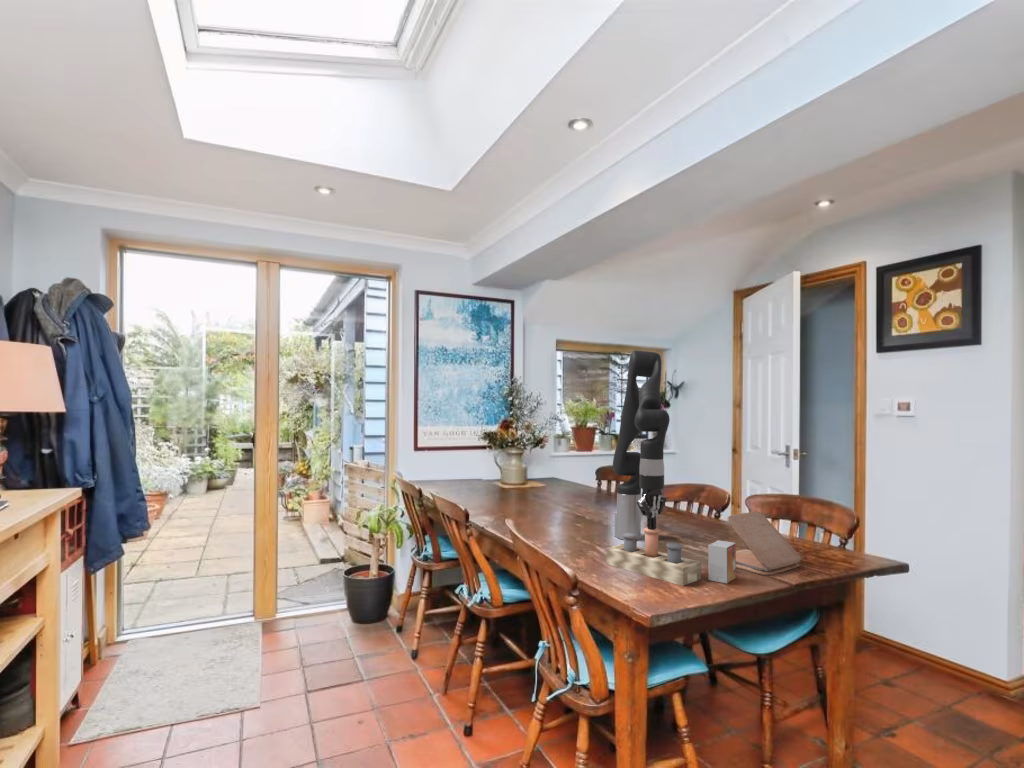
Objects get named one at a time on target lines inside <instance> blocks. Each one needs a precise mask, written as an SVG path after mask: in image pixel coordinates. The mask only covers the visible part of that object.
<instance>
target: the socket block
mask: <svg viewBox="0 0 1024 768" xmlns="http://www.w3.org/2000/svg"><path fill="white" fill-rule="evenodd" d="M605 564H606V565H608V566H611V567H615V568H618V569H622V570H625V571H629V572H632V573H636V574H640V575H643V576H646V577H649V578H654V579H658V580H661V581H665V582H666V583H671V584H674V585H678V586H682V587H684V586H686V585H689V584H692V583H694V582H697V581H700V580H702V562H701V561H699V560H695V559H694V560H693V559H690V558H686V557H683V556H681V563H678V564H675V563H671V562H667V552H662V551H658V557H655V558H652V557H648V556H645V547H640V546H637V551H636V552H628V551H624V543H621V544H617V545H613V546H609V547H605Z"/></svg>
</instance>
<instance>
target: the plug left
mask: <svg viewBox="0 0 1024 768" xmlns="http://www.w3.org/2000/svg"><path fill="white" fill-rule="evenodd" d="M623 537H624V540H623V544H624V551H628V552H636V551H637V547H638V546H637V545H638V544H637V543H638V540H637V538H638V535H637V534H634V533H624V534H623Z"/></svg>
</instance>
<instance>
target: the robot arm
mask: <svg viewBox="0 0 1024 768" xmlns="http://www.w3.org/2000/svg"><path fill="white" fill-rule="evenodd" d="M627 370H628V371H627V381H626V389H625V390H626V391H625V394H624V395H625V396H624V401H623V406H622V409H621V410H622V411H621V418H620V425H619V433H618V438H617V442H616V446H615V450H614V455H613V459H612V470H613V474H615V475H616V476H623V477H624V476H625V477H626V476H628V477H630V478H629V479H628V480H627V481H624V482H623V483H620V484H618V485H617V486H616V511H614V537H616V538H617V539H620V540H623V541H624V537H623V534H624V533H634V534H637V535H638V538H637V541H639V540H641V538H642V523H641V522H642V516H645V517H646V520H647V521H646V523H647V524H646V528H648V529H651V530H654V529H656V528H657V518H658V515H661V513H662V511H663V509H664V507H665V504H666V502H667V497H664V496H663V495H662V494H663V493H662V490H664V489H665V462H664V461H665V460H664V445H665V439H666V435H667V432H668V429H669V425H670V419H671V418H670V414H669V413H668V411H666V410H665V409H662V398H661V382H662V379H661V378H662V357H661V354H659V353H658V352H654V351H647V350H645V351H644V350H633V351H631V354H630V356H629V362H628V368H627ZM637 377H641V378H649V379H647V380H645V382H644V383H643V384H642V385H641V387H640V388H639V386H638V383H637ZM643 432H646V433H647V432H648V433H651V432H652V433H653V432H654V433H657V434H656V436H654V437H652V438H648V439H643V440H641V441H640V448H639V449H640V452H638V451H628V448H629V447H630V445H631V444H632V442H634V440H636V438H637V437H638V436H639V435H640V434H641V433H643Z"/></svg>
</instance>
